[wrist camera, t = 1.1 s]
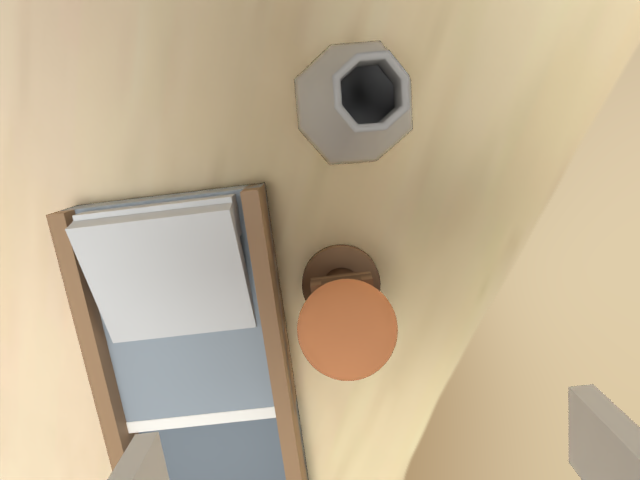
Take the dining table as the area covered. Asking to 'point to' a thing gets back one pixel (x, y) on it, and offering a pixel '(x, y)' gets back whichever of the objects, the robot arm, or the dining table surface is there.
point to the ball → (347, 329)
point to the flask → (354, 102)
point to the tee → (339, 268)
